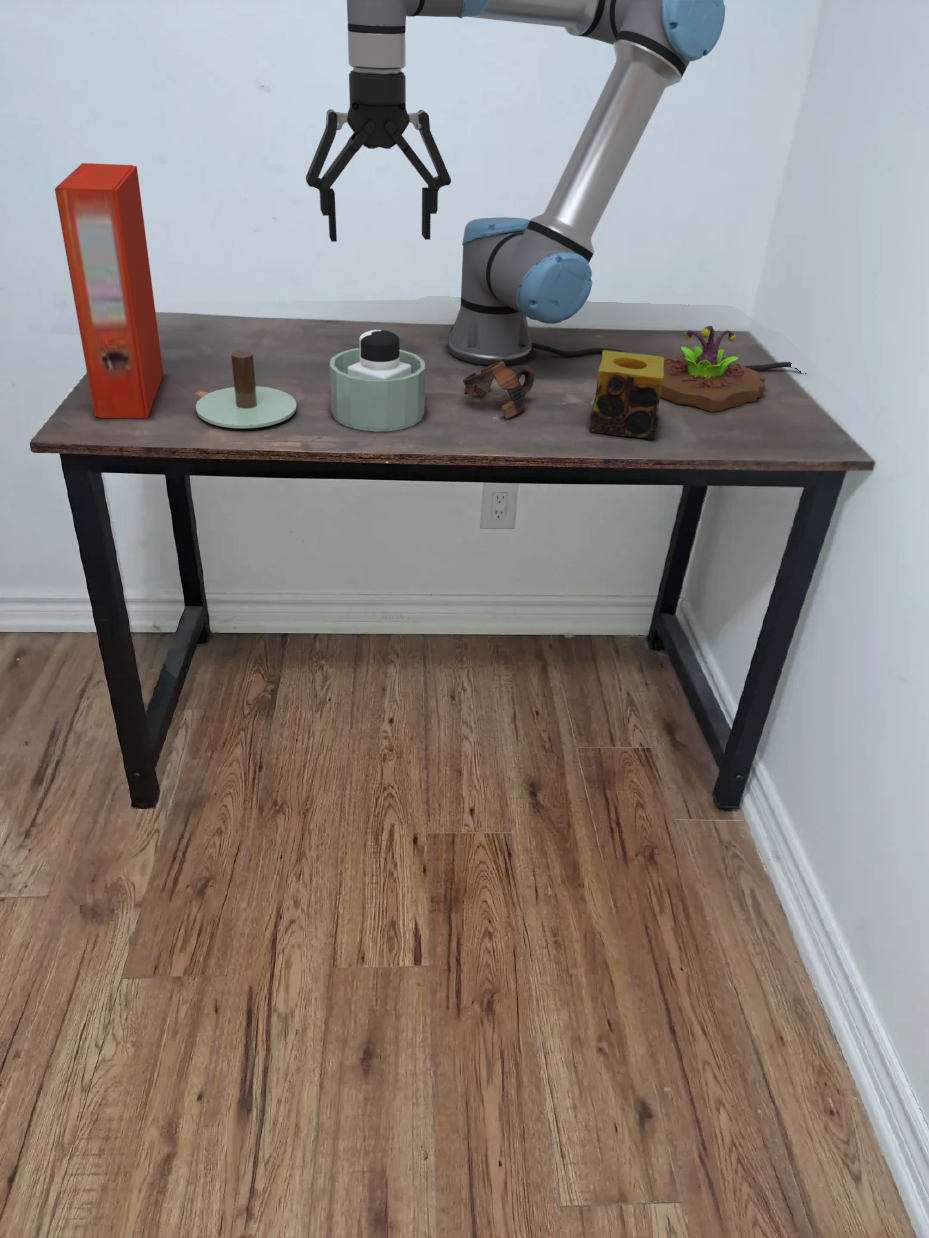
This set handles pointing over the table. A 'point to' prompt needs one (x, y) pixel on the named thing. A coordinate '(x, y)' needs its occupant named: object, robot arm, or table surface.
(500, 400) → the table surface
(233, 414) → the basin lid
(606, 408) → the yellow brown holed block
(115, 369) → the file binder
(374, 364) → the medicine bottle
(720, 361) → the plant
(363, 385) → the basin
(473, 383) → the brown grey curved piece
